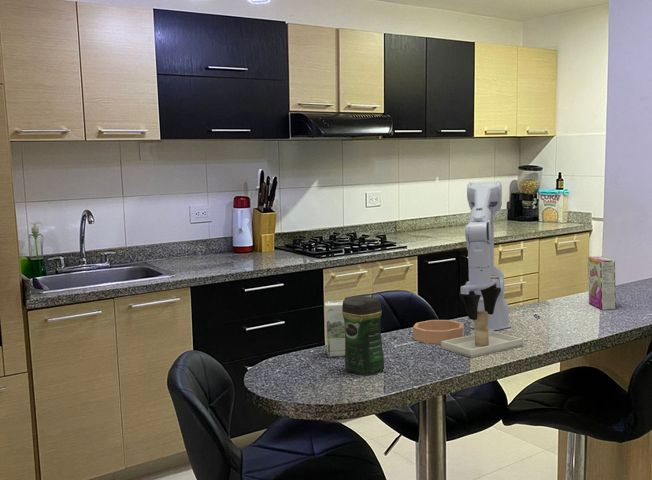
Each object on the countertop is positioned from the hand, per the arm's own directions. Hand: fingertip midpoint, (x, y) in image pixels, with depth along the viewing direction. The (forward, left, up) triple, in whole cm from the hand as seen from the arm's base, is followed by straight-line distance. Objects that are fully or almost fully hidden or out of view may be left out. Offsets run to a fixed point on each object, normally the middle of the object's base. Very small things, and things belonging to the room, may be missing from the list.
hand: (481, 316), depth 174 cm
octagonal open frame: (+2, -16, -8) cm, 18 cm away
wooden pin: (0, 0, -8) cm, 8 cm away
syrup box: (+34, -19, -9) cm, 40 cm away
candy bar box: (-64, -13, -9) cm, 66 cm away
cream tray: (0, 0, -8) cm, 8 cm away
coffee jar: (+36, -2, -9) cm, 37 cm away
